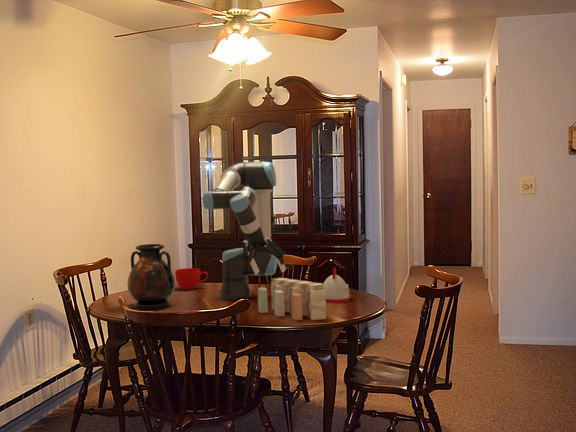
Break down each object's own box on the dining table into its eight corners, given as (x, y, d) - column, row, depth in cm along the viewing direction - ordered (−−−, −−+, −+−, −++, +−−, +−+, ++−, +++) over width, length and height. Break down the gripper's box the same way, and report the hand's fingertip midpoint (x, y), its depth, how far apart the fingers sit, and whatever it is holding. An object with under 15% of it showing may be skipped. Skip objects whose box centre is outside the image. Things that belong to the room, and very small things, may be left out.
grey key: (274, 314, 288) (274, 290, 287) (281, 313, 289) (280, 290, 288) (277, 316, 283) (277, 292, 283) (284, 316, 284) (284, 292, 283)
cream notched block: (264, 311, 296) (263, 279, 295) (280, 307, 303) (279, 276, 302) (317, 321, 274) (316, 287, 273) (333, 317, 280) (332, 283, 279)
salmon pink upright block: (291, 317, 281) (291, 293, 280) (298, 317, 282) (298, 293, 281) (295, 320, 276) (294, 295, 275) (302, 319, 277) (301, 295, 276)
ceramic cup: (206, 291, 348) (206, 271, 347) (173, 291, 348) (173, 272, 347) (210, 286, 361) (209, 267, 360) (178, 287, 361) (177, 268, 360)
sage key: (258, 310, 296) (257, 287, 295) (265, 310, 296) (264, 287, 296) (260, 313, 291) (260, 289, 290) (267, 312, 291) (267, 289, 291)
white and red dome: (350, 297, 322) (350, 265, 321) (348, 303, 309) (348, 270, 308) (321, 297, 325) (320, 265, 324) (318, 302, 311) (317, 270, 310)
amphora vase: (183, 301, 321) (180, 242, 319) (165, 311, 300) (163, 248, 298) (140, 301, 325) (137, 242, 323) (120, 310, 304) (117, 248, 302)
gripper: (223, 237, 287) (243, 279, 295) (272, 231, 274) (291, 274, 282) (231, 228, 292) (250, 269, 300) (280, 221, 279) (298, 264, 287)
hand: (270, 271), depth 291 cm, fingers open, 13 cm apart
